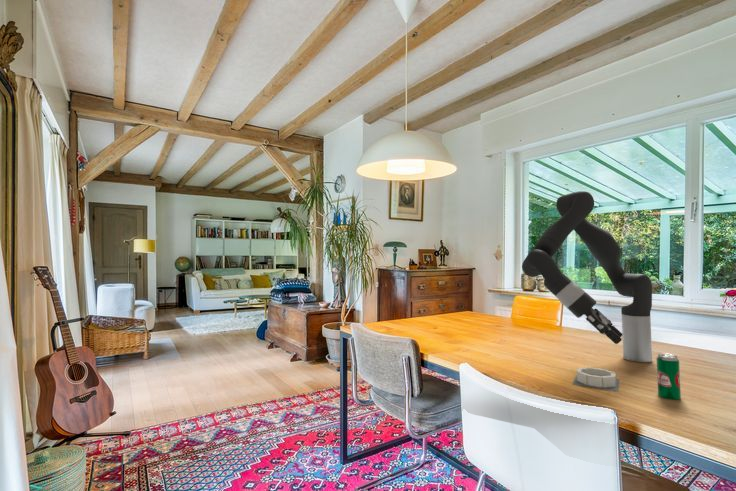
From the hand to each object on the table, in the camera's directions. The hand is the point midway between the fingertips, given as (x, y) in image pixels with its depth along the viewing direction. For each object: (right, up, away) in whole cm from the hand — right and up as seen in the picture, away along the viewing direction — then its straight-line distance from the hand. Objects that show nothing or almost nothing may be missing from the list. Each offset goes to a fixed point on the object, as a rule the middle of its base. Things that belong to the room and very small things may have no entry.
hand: (619, 339), depth 114 cm
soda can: (+9, -15, -7) cm, 19 cm away
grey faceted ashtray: (-3, -15, +7) cm, 17 cm away
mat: (-3, -16, +7) cm, 17 cm away
